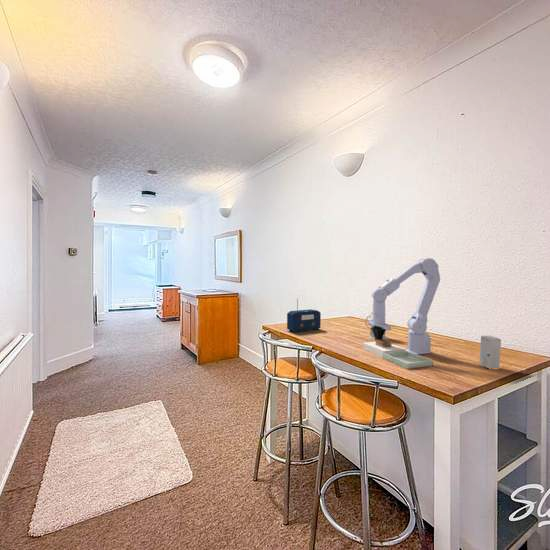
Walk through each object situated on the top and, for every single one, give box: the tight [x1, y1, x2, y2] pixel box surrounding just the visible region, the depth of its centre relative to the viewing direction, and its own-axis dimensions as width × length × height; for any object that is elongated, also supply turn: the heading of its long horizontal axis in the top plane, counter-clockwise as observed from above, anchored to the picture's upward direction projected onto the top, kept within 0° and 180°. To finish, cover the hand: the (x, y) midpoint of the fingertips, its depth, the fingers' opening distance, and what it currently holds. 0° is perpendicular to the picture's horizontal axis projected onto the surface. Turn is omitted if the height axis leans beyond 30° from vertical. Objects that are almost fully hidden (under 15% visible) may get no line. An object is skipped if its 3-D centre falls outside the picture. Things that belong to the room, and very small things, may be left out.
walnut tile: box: [375, 339, 393, 348], centre depth 141 cm, size 5×5×2 cm
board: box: [362, 341, 406, 358], centre depth 141 cm, size 12×15×3 cm
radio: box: [286, 298, 322, 333], centre depth 189 cm, size 21×9×20 cm, turn 119°
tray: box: [381, 351, 434, 370], centre depth 127 cm, size 13×15×2 cm
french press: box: [365, 311, 388, 340], centre depth 170 cm, size 10×12×25 cm
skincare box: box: [478, 335, 502, 369], centre depth 120 cm, size 6×4×12 cm
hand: (378, 342), depth 144 cm, fingers closed
